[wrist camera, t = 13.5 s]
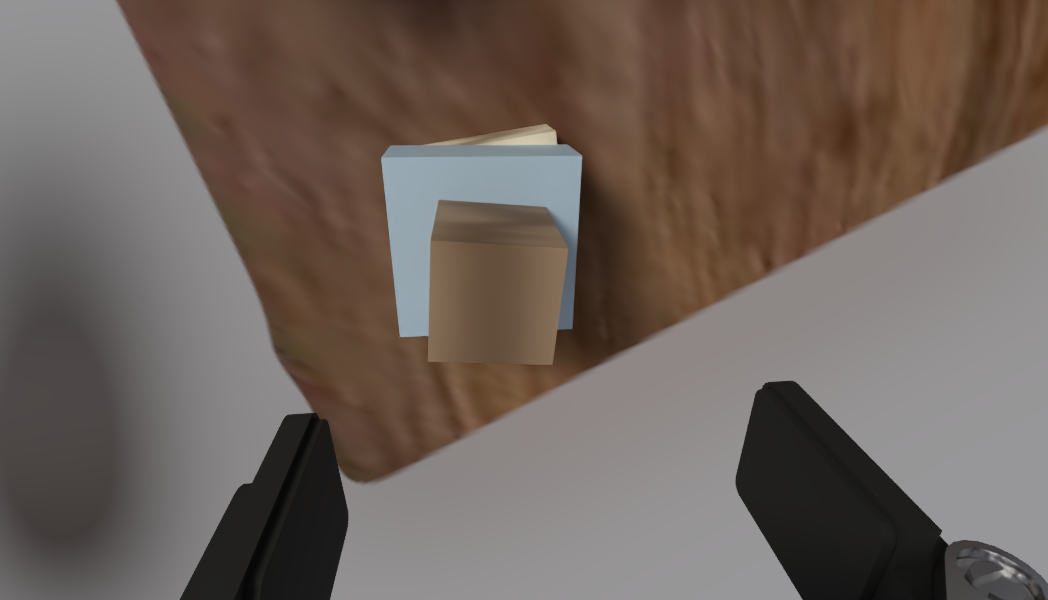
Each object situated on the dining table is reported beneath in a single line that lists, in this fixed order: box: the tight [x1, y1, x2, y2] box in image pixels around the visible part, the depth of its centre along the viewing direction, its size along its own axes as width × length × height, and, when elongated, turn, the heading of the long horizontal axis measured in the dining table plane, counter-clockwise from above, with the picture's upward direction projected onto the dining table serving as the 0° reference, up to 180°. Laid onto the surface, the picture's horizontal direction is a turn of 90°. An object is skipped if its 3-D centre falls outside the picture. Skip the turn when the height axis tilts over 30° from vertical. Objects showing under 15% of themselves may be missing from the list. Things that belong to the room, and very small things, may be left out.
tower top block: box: [381, 144, 582, 337], centre depth 26 cm, size 9×9×4 cm
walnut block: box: [428, 200, 568, 365], centre depth 22 cm, size 5×5×6 cm
